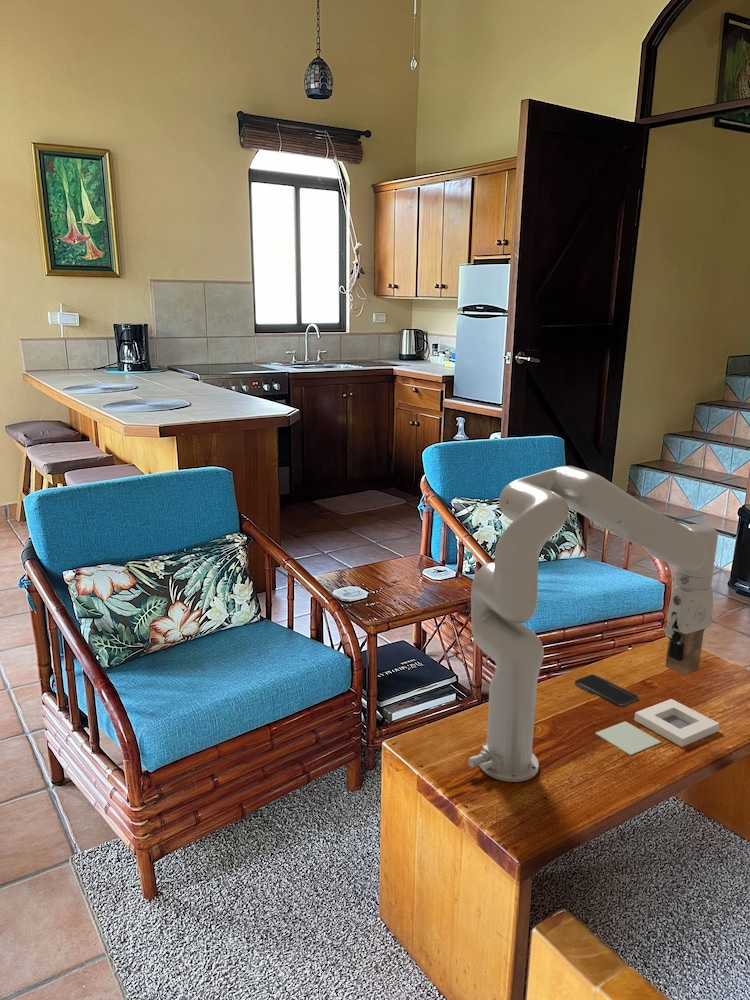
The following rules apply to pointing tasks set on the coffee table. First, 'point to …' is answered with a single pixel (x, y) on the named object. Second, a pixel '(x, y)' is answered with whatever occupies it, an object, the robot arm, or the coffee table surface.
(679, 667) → the walnut block
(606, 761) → the coffee table surface
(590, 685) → the phone
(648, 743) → the green mat
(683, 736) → the pocket plate
